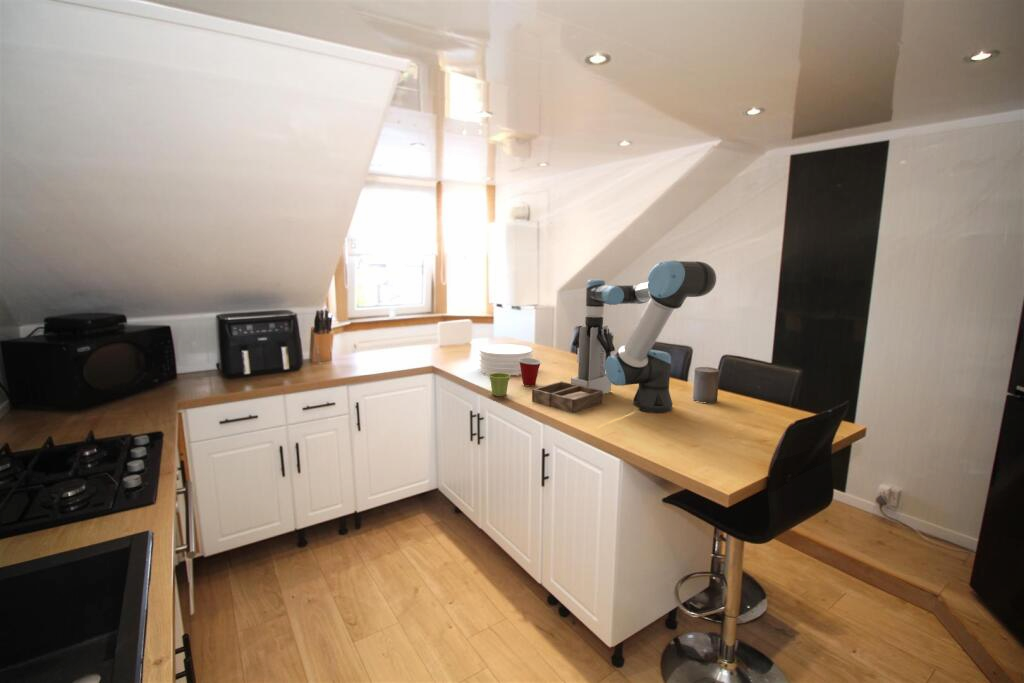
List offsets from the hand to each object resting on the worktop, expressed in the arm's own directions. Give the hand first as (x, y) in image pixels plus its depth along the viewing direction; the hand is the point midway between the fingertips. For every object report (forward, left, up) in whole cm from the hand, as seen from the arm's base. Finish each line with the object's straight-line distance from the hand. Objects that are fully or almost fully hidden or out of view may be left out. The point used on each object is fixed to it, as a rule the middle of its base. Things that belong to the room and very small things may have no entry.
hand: (592, 364), depth 199 cm
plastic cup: (+29, +8, -13) cm, 33 cm away
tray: (-2, +20, -13) cm, 24 cm away
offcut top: (-6, +20, -10) cm, 24 cm away
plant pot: (+27, +30, -13) cm, 43 cm away
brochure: (0, 0, -13) cm, 13 cm away
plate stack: (+59, -6, -14) cm, 61 cm away
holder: (0, 0, -13) cm, 13 cm away
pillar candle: (-39, -27, -14) cm, 49 cm away
